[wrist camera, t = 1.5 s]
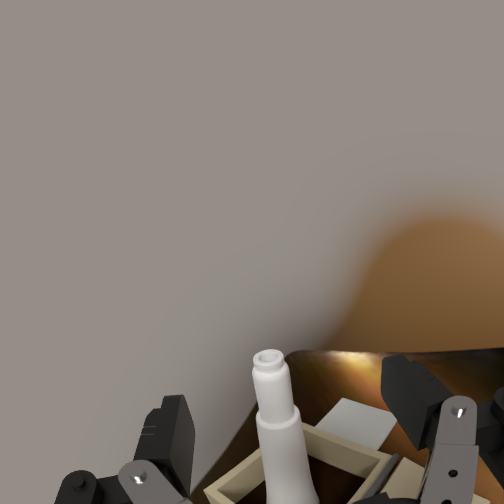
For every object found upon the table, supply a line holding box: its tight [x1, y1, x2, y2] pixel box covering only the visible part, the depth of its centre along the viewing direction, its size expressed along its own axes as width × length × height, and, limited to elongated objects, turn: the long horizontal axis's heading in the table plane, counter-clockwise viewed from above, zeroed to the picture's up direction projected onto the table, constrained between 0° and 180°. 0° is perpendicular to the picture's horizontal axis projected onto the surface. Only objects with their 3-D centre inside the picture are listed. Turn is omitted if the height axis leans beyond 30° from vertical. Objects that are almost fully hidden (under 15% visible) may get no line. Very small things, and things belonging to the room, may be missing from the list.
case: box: [204, 422, 400, 504], centre depth 27 cm, size 16×15×6 cm
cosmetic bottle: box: [252, 349, 319, 504], centre depth 25 cm, size 6×6×22 cm
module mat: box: [315, 398, 397, 451], centre depth 38 cm, size 10×10×1 cm
